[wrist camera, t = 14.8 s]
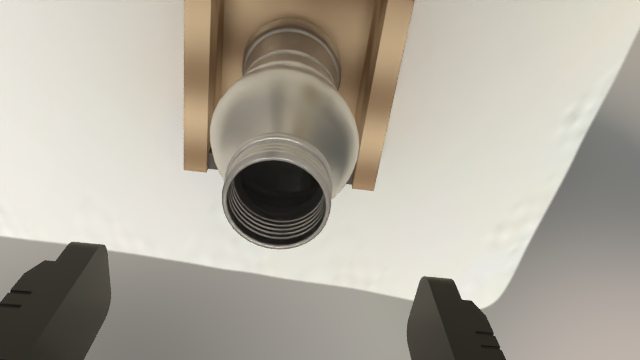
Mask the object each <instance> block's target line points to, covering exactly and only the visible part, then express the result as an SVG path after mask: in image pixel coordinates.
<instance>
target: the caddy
mask: <svg viewBox="0 0 640 360" xmlns="http://www.w3.org/2000/svg"><path fill="white" fill-rule="evenodd" d="M413 5H414V0H184V170H189V171H198V172H207V170H208V169H217V170H218V168H217V166H216V164H215V161H214V157H213V153H212V148H211V143H210V125H211V120H212V116H213V113H214V111H215V109H216V106H217V104H218V102H219V101H220V99H221V98H222V97H223V95H224V94H225V93H226V92H227V90H228V89H229V88H230V87H231V85H232V84H234V83H235V82H236V81H237V80H239V79H240V78H241V77H242V76H243V75H242V58H243V53H244V49H245V47H246V45H247V43H248V41H249V39H250V38H251V36H252V35H253V34H254V33H255V32H256V31H257V30H258V29H259V28H260V27H262V26H263V25H265V24H267V23H269V22H271V21H274V20H278V19H282V18H294V19H301V20H304V21H307V22H309V23H312V24H314V25H315V26H317V27H318V28H320V29H321V30H322V31H323V32H325V33H326V34H327V35H328V36H329V38H330V39H331V40H332V42H333V43H334V44H335V46H336V49H337V51H338V53H339V56H340V60H341V66H342V76H341V83H340V87H339V90H338V92H339V93H340V94H341V95H342V97H343V98H344V99H345V100H346V102H347V104H348V106H349V108H350V110H351V112H352V114H353V117H354V119H355V122H356V126H357V129H358V133H359V151H358V158H357V161H356V164H355V167H354V169H353V172H352V174H351V176H350V178H349V180H348V181H347V183H346V184H352V189H361V190H370V191H374V187H375V182H376V177H377V173H378V168H379V163H380V159H381V154H382V149H383V145H384V140H385V135H386V131H387V126H388V122H389V117H390V112H391V108H392V103H393V98H394V94H395V89H396V84H397V80H398V75H399V70H400V66H401V61H402V56H403V52H404V47H405V42H406V38H407V33H408V28H409V24H410V19H411V14H412V10H413Z"/></svg>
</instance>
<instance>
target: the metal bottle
mask: <svg viewBox="0 0 640 360" xmlns="http://www.w3.org/2000/svg"><path fill="white" fill-rule="evenodd" d="M242 75H243V76H242V77H241V78H240V79H239V80H237V81H236V82H235V83H234V84H232V85H231V87H230V88H229V89H228V90H227V92H226V93H225V94H224V95H223V97H222V98H221V99H220V101H219V102H218V104H217V106H216V109H215V111H214V113H213V116H212V120H211V125H210V143H211V148H212V153H213V157H214V161H215V164H216V166H217V168H218V170H219V173H220V175H221V176H222V178H223V179H224V181H225V182H224V186H223V190H222V205H223V209H224V213H225V215H226V218H227V220H228V222H229V223H230V224H231V226H232V227H233V229H234V230H235V231H236V232H237V233H238V234H240V235H241V236H242V237H243V238H245V239H246V240H248V241H250V242H252V243H254V244H256V245H258V246H262V247H266V248H271V249H289V248H294V247H298V246H300V245H303V244H305V243H307V242H309V241H310V240H312V239H313V238H315V237H316V236H317V235H318V234H319V233H320V232H321V231H322V229H323V228H324V226H325V225H326V222H327V220H328V217H329V214H330V208H331V199H333V198H334V197H335V196H336V195H337V194H338V193H339V192H340V191H341V190H342V189H343V187H344V186H345V184H346V183H347V181H348V180H349V178H350V176H351V174H352V172H353V169H354V167H355V164H356V161H357V158H358V151H359V133H358V129H357V126H356V122H355V119H354V117H353V114H352V112H351V110H350V108H349V106H348V104H347V102H346V100H345V99H344V98H343V97H342V95H341V94H340V93H339V92H338V90H339V87H340V83H341V76H342V66H341V60H340V56H339V53H338V51H337V49H336V46H335V44H334V43H333V42H332V40H331V39H330V38H329V36H328V35H327V34H326V33H325V32H323V31H322V30H321V29H320V28H318V27H317V26H315V25H314V24H312V23H309V22H307V21H304V20H301V19H294V18H282V19H278V20H274V21H271V22H269V23H267V24H265V25H263V26H262V27H260V28H259V29H258V30H257V31H256V32H255V33H254V34H253V35H252V36H251V38H250V39H249V41H248V43H247V45H246V47H245V49H244V53H243V58H242Z"/></svg>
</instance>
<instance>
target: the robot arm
mask: <svg viewBox="0 0 640 360" xmlns="http://www.w3.org/2000/svg"><path fill="white" fill-rule="evenodd" d="M110 300H111V287H110V277H109V266H108V254H107V249H106V246H105V245H101V244H91V243H80V242H71V243H69V244H68V246H67V247H66V248H65V249H64V251H63V252H62V253H61V255H60V256H59V257H58V259H57V260H56V261H43V262H41V263H40V264H38V265H37V266H35V267H34V268H32V269H31V270H29V271H27V272H26V273H24V274H23V276H22V277H21V278H20V279H19V280H18V282H17V283H16V284H15V285H14V286H13V288H12V289H11V292H10V293H8V294H7V295H6V296H5V297H4V299H3V300H2V301H1V302H0V360H84V358H85V356H86V354H87V352H88V350H89V349H90V347H91V345H92V343H93V341H94V339H95V337H96V335H97V333H98V331H99V329H100V328H101V326H102V324H103V322H104V320H105V318H106V316H107V313H108V310H109V306H110ZM407 342H408V347H409V351H410V355H411V359H412V360H506V359H505V357H504V354H503V352H502V350H500V346H499V344H498V341H497V339H496V337H495V336H493V330H492V328H491V326H490V324H489V322H488V320H487V317H486V316H485V315H484V314H483V312H481V310H480V309H479V308H478V307H477V306H476V305H475V304H474V303H473V302H472V301H469V300H462V299H461V297H460V294H459V292H458V289H457V287H456V285H455V282H454V281H453V280H452V279H447V278H436V277H426V276H424V277H422V278H421V280H420V282H419V286H418V289H417V292H416V296H415V299H414V302H413V306H412V309H411V312H410V316H409V319H408V324H407Z"/></svg>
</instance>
